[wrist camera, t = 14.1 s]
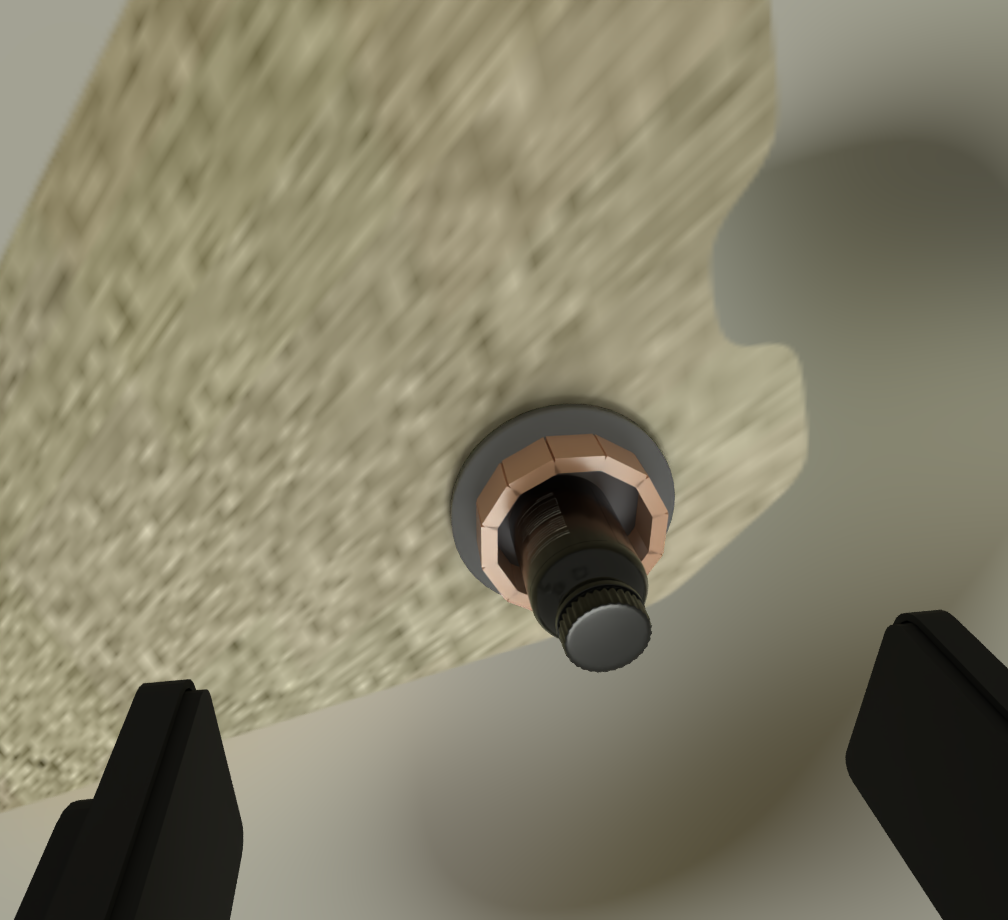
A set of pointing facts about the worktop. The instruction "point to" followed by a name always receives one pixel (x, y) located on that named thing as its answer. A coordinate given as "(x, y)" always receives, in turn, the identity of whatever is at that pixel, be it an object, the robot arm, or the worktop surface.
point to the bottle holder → (550, 452)
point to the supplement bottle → (581, 572)
